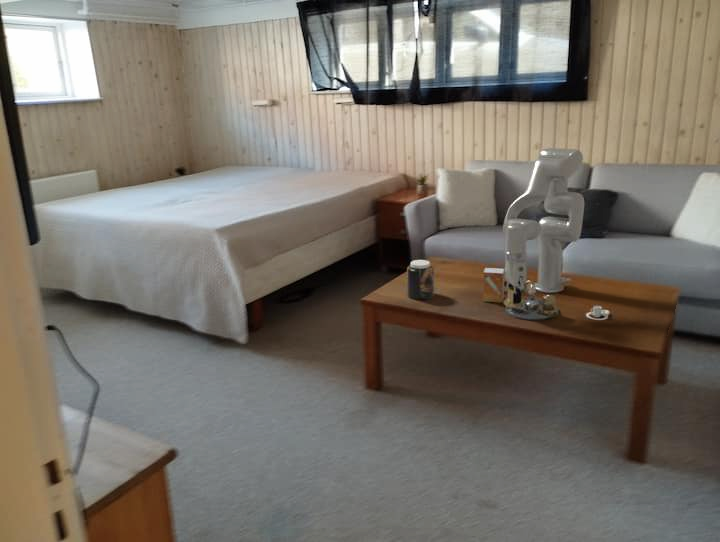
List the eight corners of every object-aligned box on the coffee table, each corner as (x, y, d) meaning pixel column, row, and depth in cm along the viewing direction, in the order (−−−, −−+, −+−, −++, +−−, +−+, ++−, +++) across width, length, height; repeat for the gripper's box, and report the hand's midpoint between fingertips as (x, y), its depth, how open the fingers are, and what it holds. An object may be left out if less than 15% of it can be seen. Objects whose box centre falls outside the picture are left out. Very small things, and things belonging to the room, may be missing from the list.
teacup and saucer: (608, 313, 232) (609, 303, 231) (611, 321, 225) (612, 311, 224) (584, 312, 234) (585, 302, 233) (587, 320, 227) (587, 310, 226)
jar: (404, 299, 257) (403, 266, 252) (410, 290, 267) (409, 258, 263) (432, 300, 253) (431, 267, 249) (436, 291, 264) (436, 259, 259)
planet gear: (518, 300, 240) (518, 284, 238) (526, 306, 233) (527, 290, 231) (500, 302, 238) (501, 286, 236) (508, 308, 231) (509, 292, 229)
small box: (482, 301, 250) (483, 272, 246) (484, 296, 255) (484, 267, 251) (502, 303, 247) (503, 273, 243) (503, 297, 253) (504, 268, 249)
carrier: (542, 299, 249) (542, 280, 247) (567, 316, 230) (569, 296, 228) (497, 304, 245) (497, 286, 243) (519, 323, 227) (520, 303, 224)
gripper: (535, 260, 222) (533, 306, 228) (514, 249, 238) (513, 292, 243) (516, 262, 221) (514, 309, 226) (497, 251, 237) (495, 294, 242)
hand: (513, 299), depth 235 cm, fingers closed on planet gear, 4 cm apart
